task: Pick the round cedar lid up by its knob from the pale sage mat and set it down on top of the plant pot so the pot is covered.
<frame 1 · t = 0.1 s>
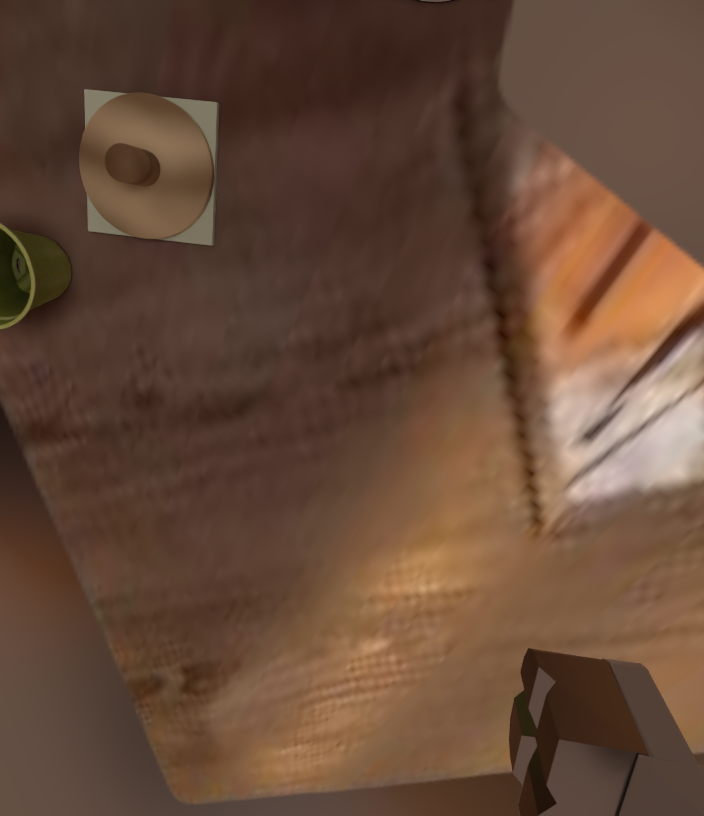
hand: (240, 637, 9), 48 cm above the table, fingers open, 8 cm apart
plant pot: (45, 267, 57), on the table
lid: (150, 169, 53), point 1 cm above the table, touching mat
mat: (152, 170, 53), on the table
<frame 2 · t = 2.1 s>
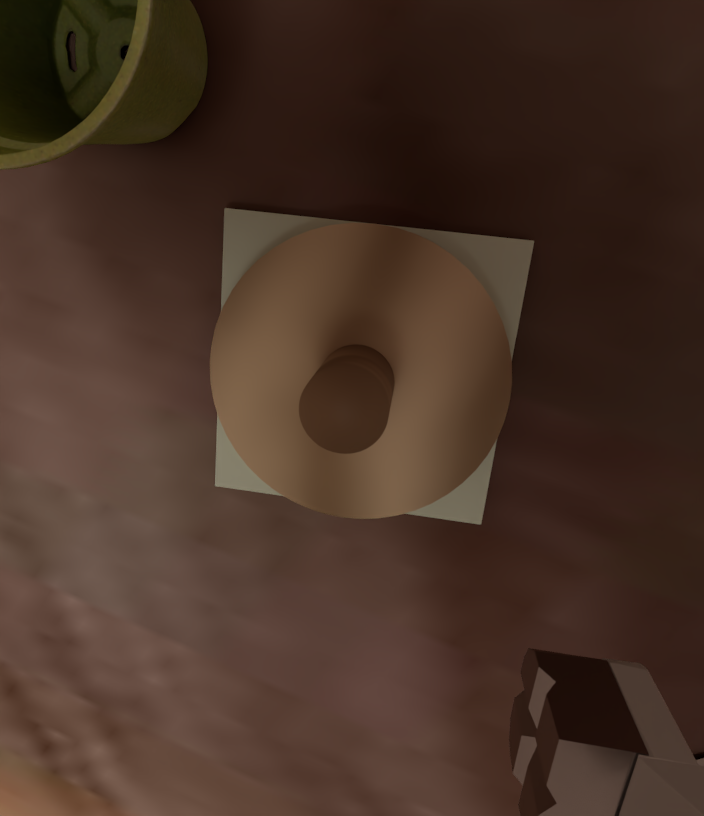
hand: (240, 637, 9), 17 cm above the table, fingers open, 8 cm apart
plant pot: (135, 61, 23), on the table
lid: (359, 374, 24), point 1 cm above the table, touching mat
mat: (361, 371, 25), on the table
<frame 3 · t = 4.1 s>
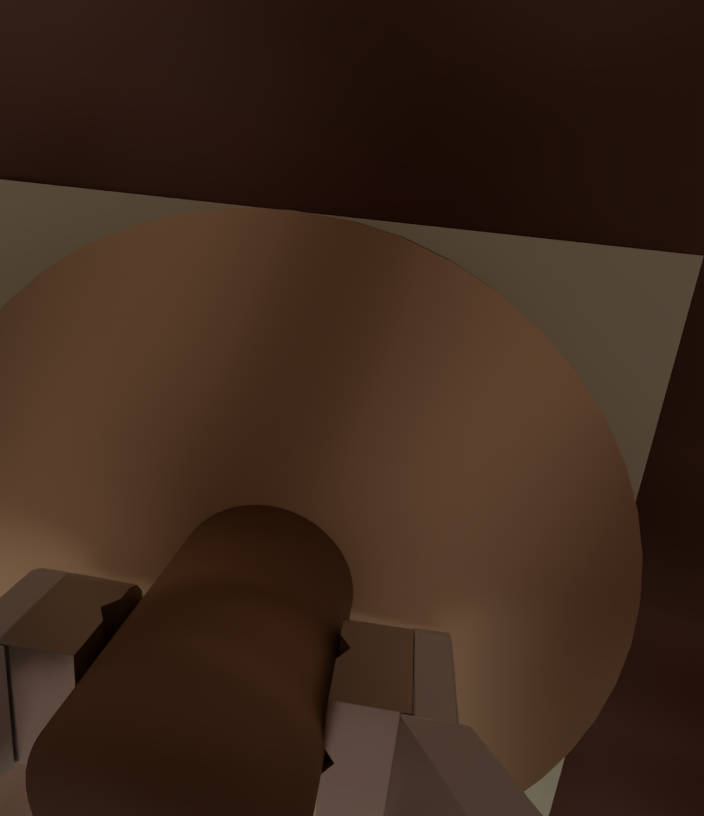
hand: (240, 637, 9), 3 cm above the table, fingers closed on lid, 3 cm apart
lid: (280, 549, 11), point 1 cm above the table, touching gripper, mat
mat: (287, 533, 11), on the table
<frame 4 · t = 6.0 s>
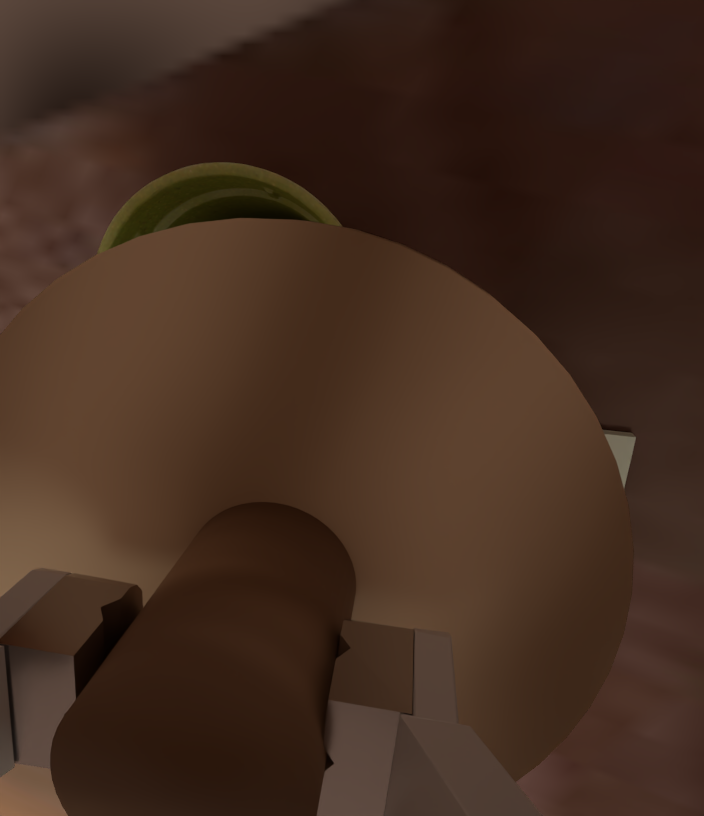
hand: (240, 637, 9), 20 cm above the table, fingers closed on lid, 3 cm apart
plant pot: (292, 291, 27), on the table
lid: (285, 544, 11), point 17 cm above the table, touching gripper
mat: (480, 532, 29), on the table
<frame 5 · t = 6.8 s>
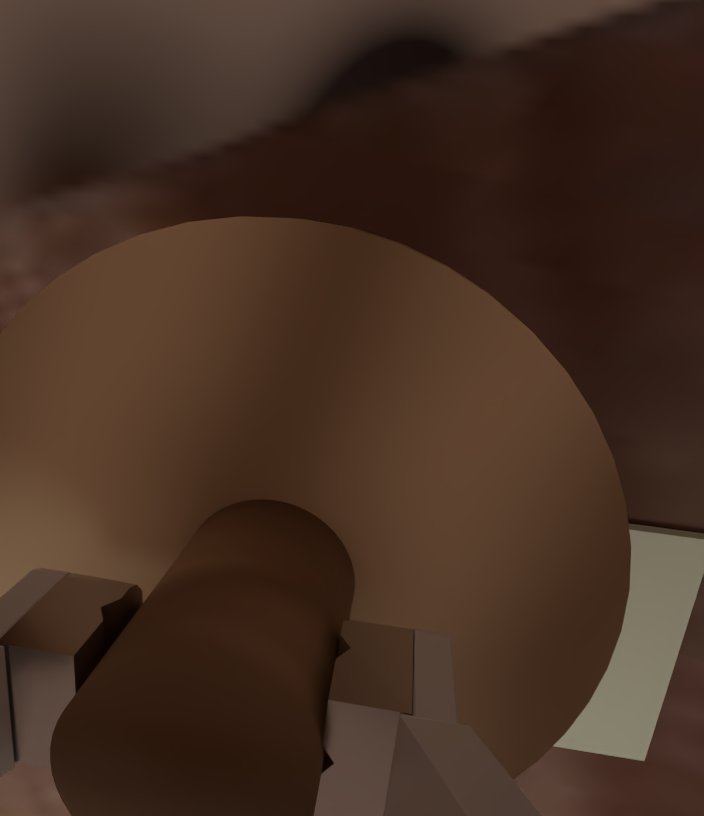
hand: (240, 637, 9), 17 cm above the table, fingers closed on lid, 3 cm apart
lid: (284, 542, 11), point 14 cm above the table, touching gripper
mat: (538, 629, 27), on the table
when the fingers open (13 cm above the table, at t = 7.7 s): lid drops 1 cm, resting on plant pot.
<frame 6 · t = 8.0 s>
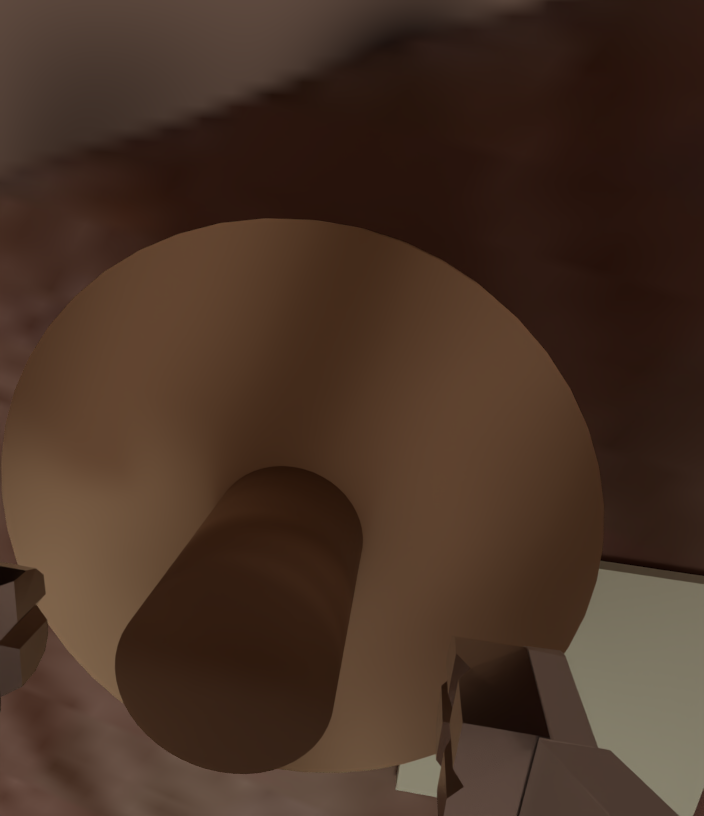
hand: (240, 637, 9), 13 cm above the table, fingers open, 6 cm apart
lid: (299, 508, 13), point 9 cm above the table, touching plant pot
mat: (563, 690, 23), on the table
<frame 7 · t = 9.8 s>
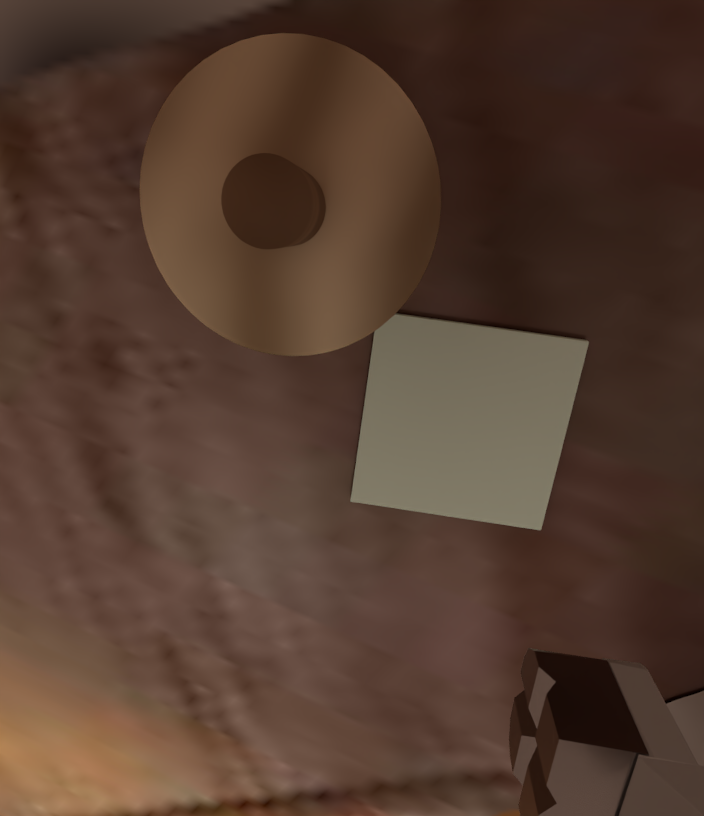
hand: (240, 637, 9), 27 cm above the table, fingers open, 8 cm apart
lid: (293, 207, 24), point 9 cm above the table, touching plant pot
mat: (461, 423, 35), on the table
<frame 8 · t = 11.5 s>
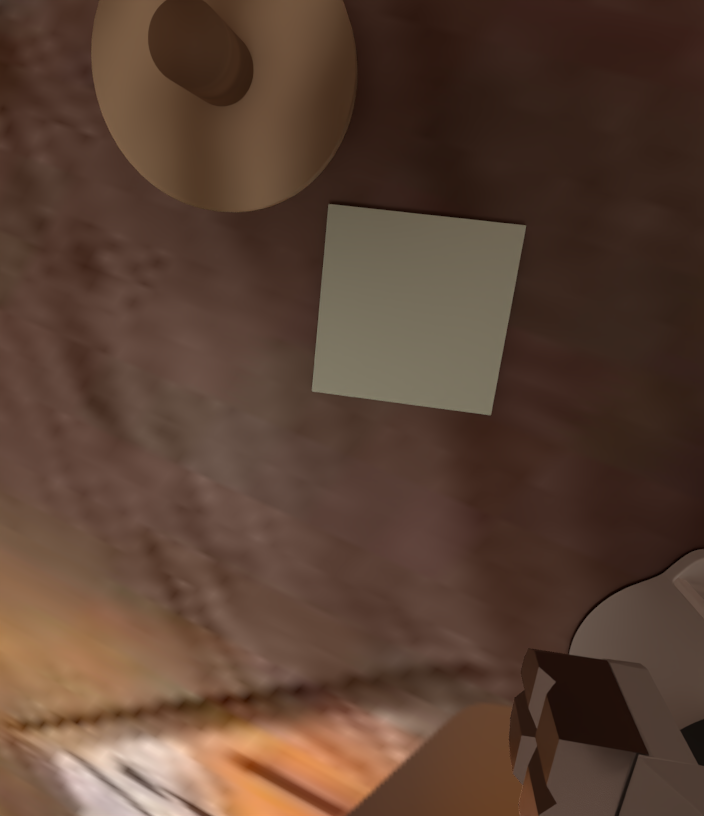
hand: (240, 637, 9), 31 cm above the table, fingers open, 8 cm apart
lid: (228, 75, 27), point 9 cm above the table, touching plant pot
mat: (412, 312, 38), on the table
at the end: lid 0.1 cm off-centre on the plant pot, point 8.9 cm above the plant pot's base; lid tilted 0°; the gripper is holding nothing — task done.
